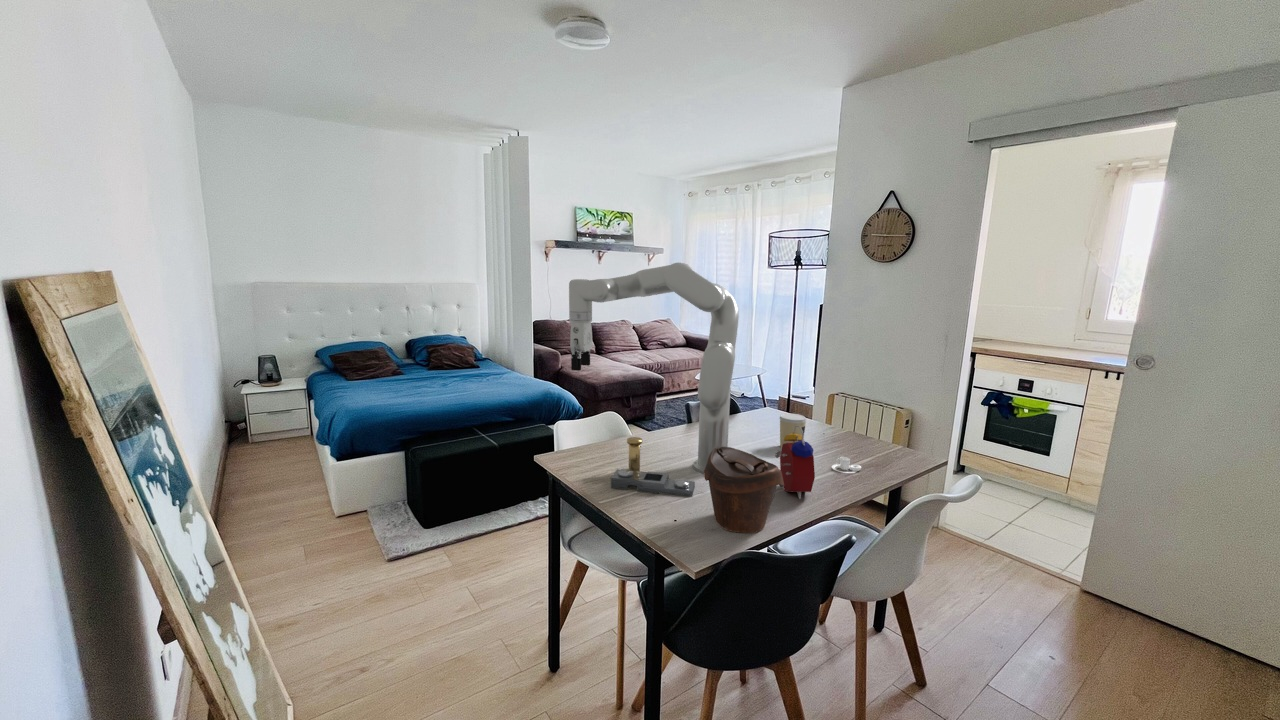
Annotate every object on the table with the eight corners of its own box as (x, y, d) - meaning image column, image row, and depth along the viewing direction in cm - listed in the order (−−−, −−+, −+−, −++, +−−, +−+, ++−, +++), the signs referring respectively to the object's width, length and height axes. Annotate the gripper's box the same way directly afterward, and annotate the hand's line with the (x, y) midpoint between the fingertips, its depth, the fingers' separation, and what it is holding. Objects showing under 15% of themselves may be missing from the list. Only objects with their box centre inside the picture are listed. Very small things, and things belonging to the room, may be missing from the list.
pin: (643, 470, 165) (643, 437, 163) (640, 476, 160) (640, 442, 158) (628, 469, 166) (629, 436, 164) (625, 474, 161) (625, 441, 159)
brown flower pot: (785, 543, 120) (789, 471, 118) (700, 535, 124) (702, 465, 121) (778, 510, 138) (782, 446, 135) (703, 503, 141) (706, 441, 138)
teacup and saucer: (863, 470, 168) (864, 458, 168) (854, 477, 162) (855, 465, 162) (836, 463, 174) (837, 452, 173) (827, 470, 168) (828, 458, 167)
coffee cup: (807, 452, 184) (809, 420, 182) (781, 452, 184) (783, 419, 182) (800, 444, 193) (802, 413, 191) (775, 443, 193) (777, 412, 191)
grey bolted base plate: (694, 485, 153) (695, 472, 152) (691, 497, 145) (692, 483, 145) (617, 478, 158) (617, 465, 157) (610, 488, 150) (610, 475, 150)
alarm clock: (813, 502, 143) (818, 433, 140) (782, 501, 143) (787, 433, 140) (798, 481, 157) (802, 418, 154) (770, 480, 158) (774, 418, 154)
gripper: (583, 319, 160) (583, 373, 163) (599, 315, 176) (599, 364, 179) (560, 318, 161) (561, 371, 164) (578, 314, 178) (578, 363, 181)
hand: (581, 367), depth 172 cm, fingers open, 9 cm apart
